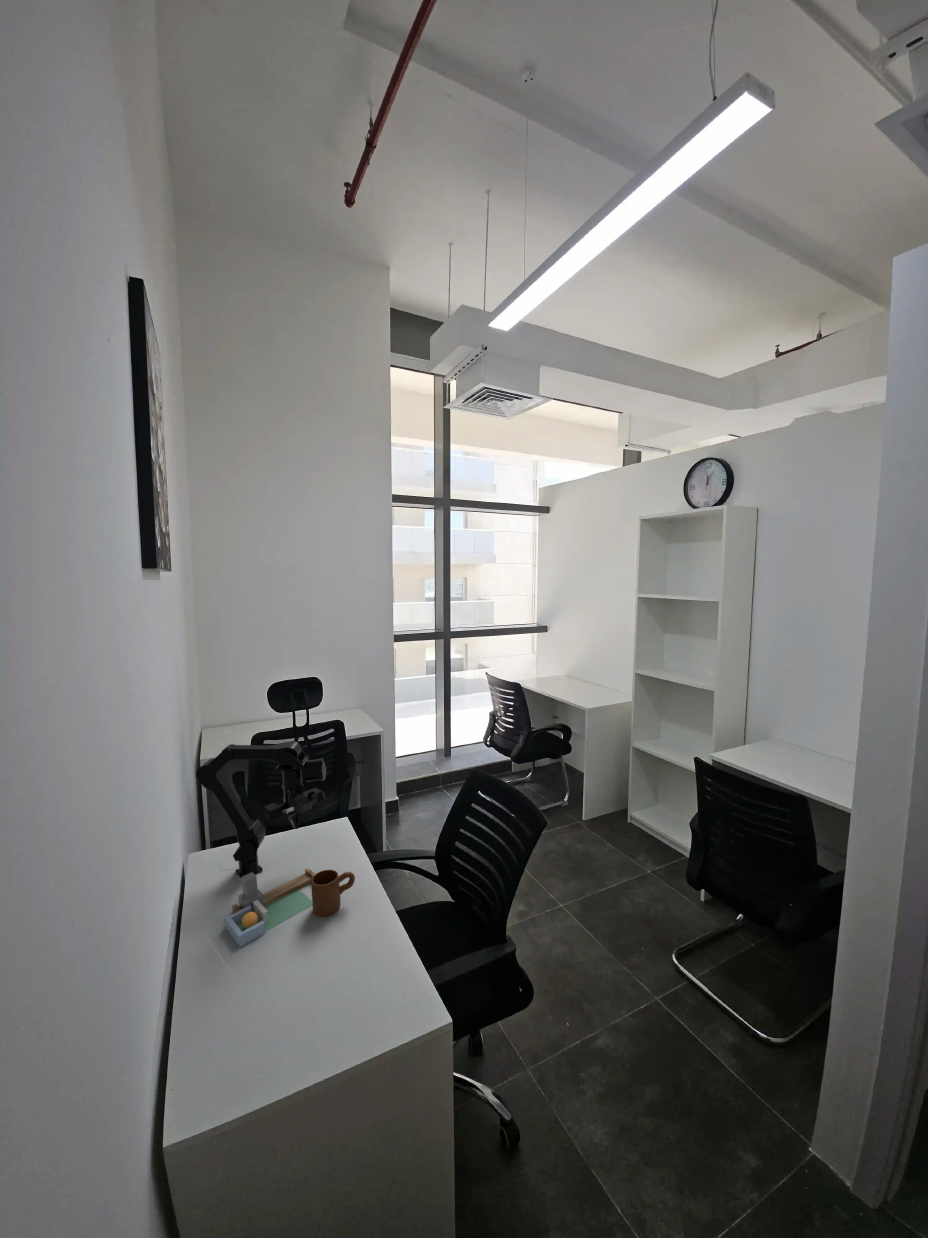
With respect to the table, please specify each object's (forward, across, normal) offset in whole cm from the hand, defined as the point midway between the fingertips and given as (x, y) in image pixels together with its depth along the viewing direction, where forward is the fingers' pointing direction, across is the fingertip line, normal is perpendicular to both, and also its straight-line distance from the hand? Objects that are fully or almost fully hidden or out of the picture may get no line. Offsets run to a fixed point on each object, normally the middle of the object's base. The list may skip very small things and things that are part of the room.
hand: (296, 828), depth 156 cm
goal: (+13, -23, -16) cm, 31 cm away
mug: (+13, -2, -26) cm, 29 cm away
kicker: (+12, -19, -13) cm, 26 cm away
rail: (+13, -12, -9) cm, 20 cm away
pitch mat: (+13, -16, -16) cm, 26 cm away
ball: (+12, -24, -16) cm, 31 cm away
